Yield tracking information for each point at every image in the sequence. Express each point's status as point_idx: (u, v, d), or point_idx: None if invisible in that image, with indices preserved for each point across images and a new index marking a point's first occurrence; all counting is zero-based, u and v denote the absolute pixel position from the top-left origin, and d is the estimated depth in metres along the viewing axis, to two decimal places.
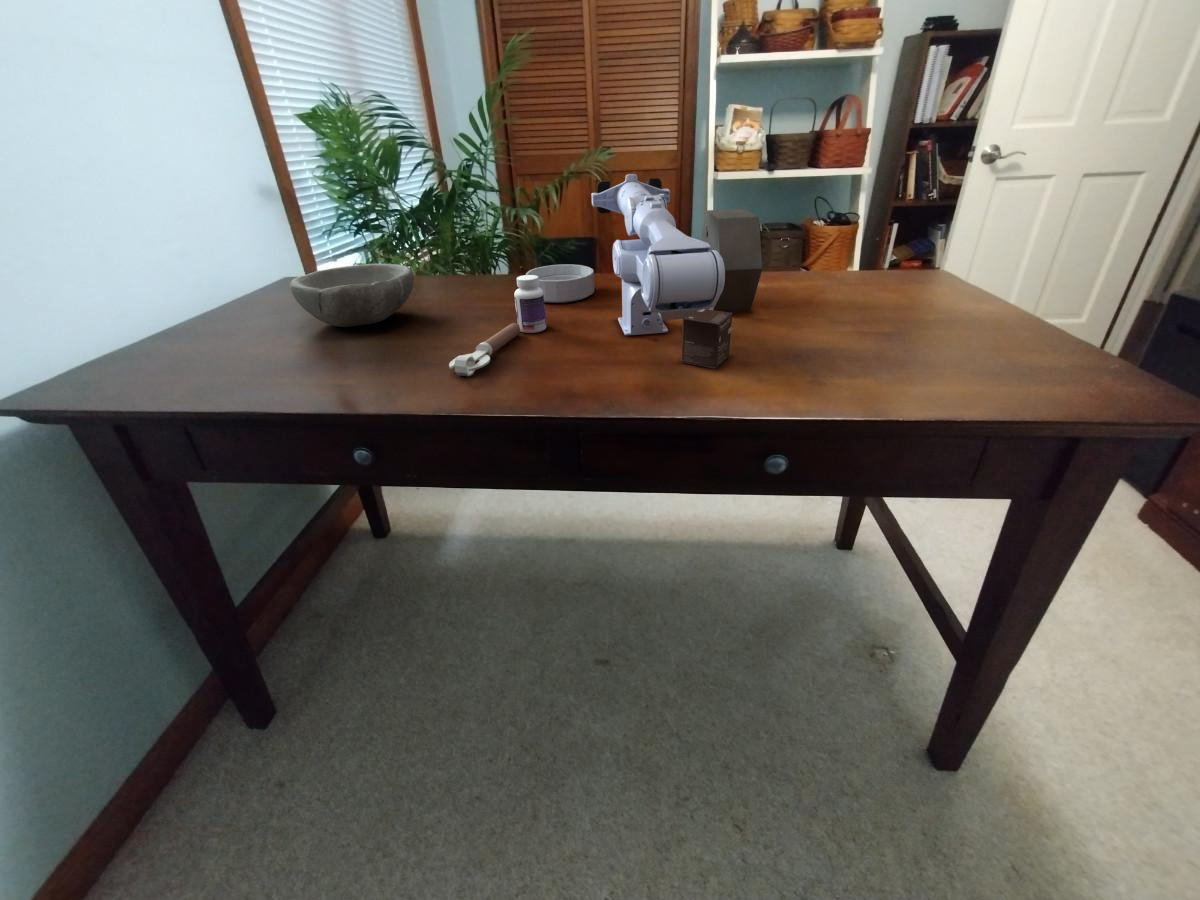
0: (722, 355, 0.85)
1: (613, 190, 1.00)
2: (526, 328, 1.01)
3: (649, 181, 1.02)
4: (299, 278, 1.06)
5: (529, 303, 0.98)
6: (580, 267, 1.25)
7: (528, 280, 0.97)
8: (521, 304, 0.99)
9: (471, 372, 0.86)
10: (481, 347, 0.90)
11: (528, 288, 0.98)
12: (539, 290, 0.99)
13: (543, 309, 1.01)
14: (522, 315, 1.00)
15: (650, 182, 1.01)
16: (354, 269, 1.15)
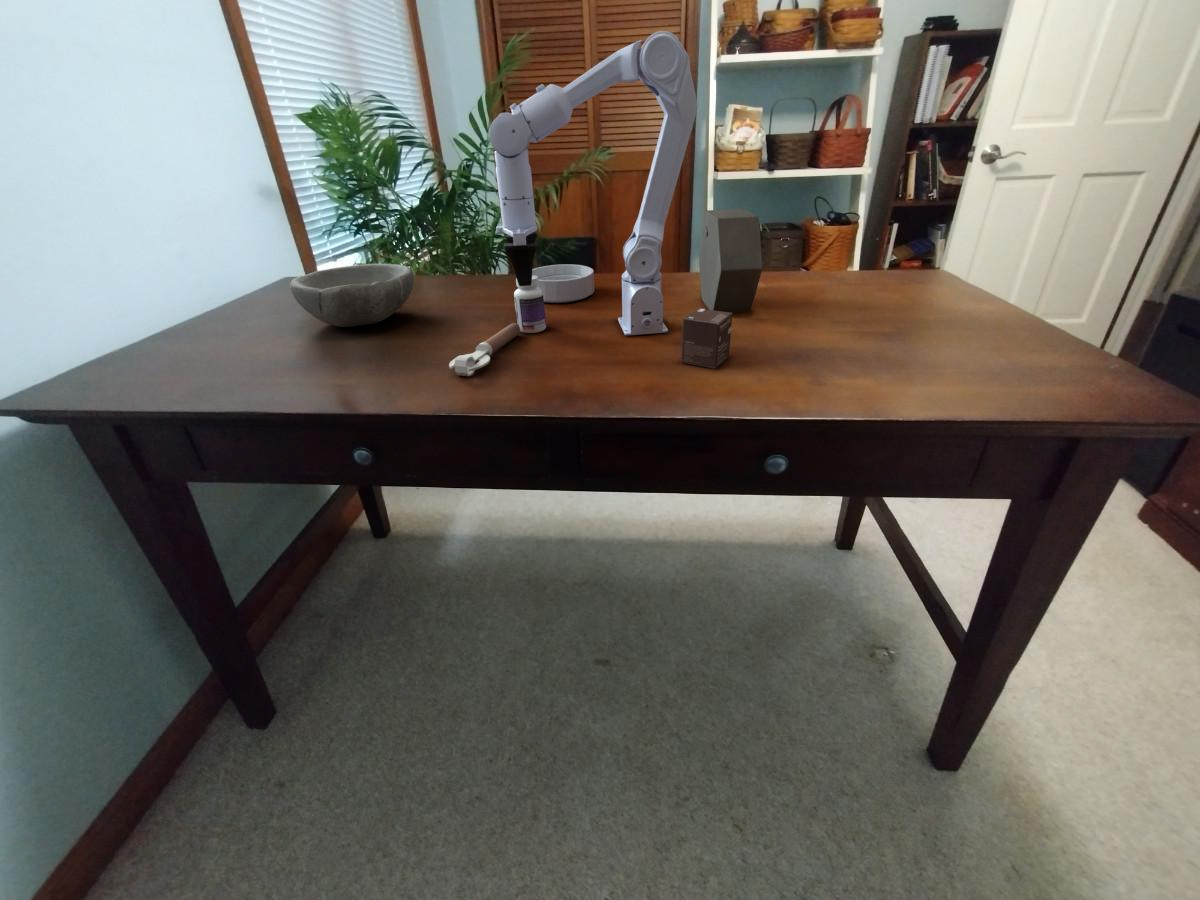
0: (722, 355, 0.85)
1: None
2: (526, 329, 1.01)
3: (508, 238, 0.98)
4: (299, 278, 1.06)
5: (528, 303, 0.98)
6: (580, 267, 1.25)
7: None
8: (521, 304, 0.99)
9: (471, 372, 0.86)
10: (481, 347, 0.90)
11: (528, 288, 0.98)
12: (539, 290, 0.99)
13: (543, 309, 1.01)
14: (522, 316, 1.00)
15: (509, 236, 0.98)
16: (354, 269, 1.15)
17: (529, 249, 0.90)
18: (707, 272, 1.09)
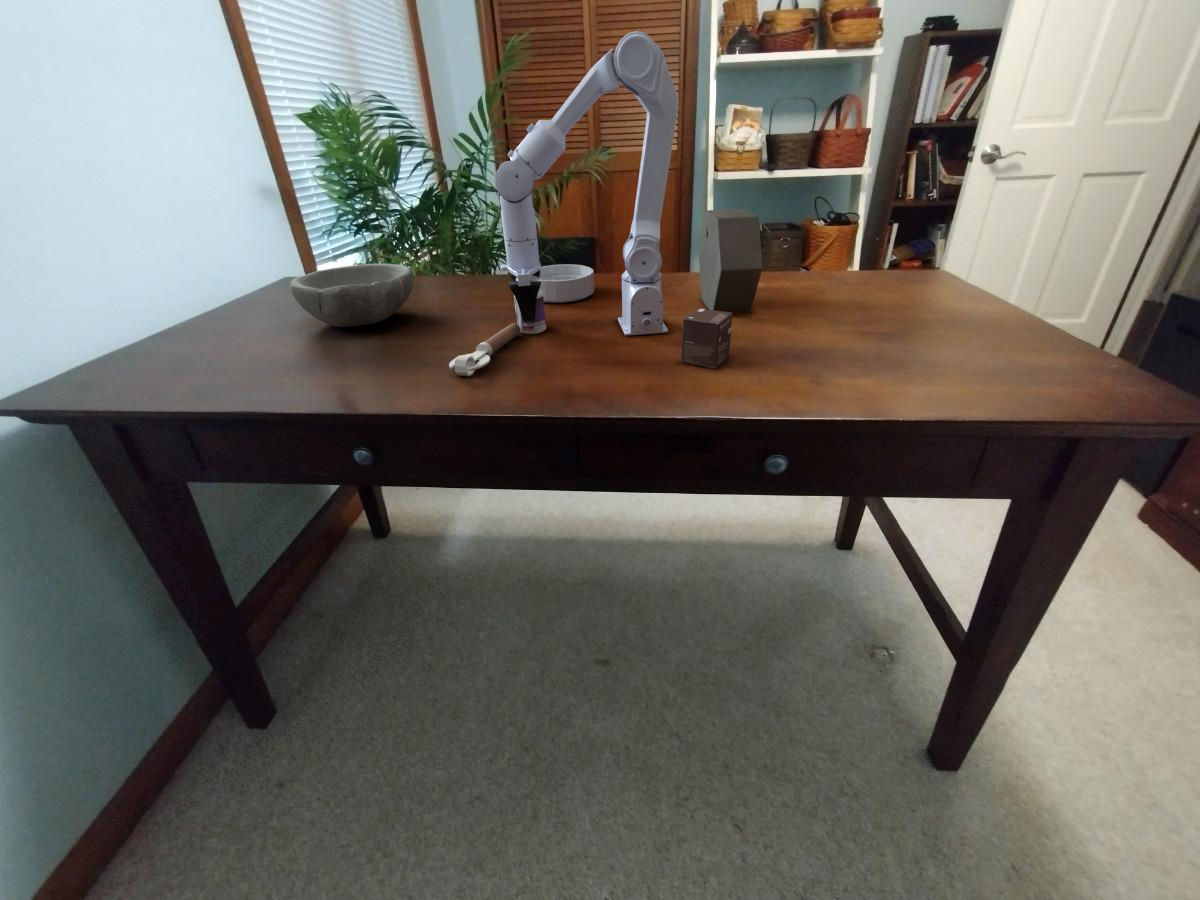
0: (722, 355, 0.85)
1: None
2: (526, 329, 1.00)
3: (512, 276, 1.00)
4: (299, 278, 1.06)
5: None
6: (580, 267, 1.25)
7: None
8: None
9: (471, 372, 0.86)
10: (481, 347, 0.90)
11: None
12: (539, 291, 0.99)
13: (543, 310, 1.00)
14: (521, 316, 0.99)
15: (513, 274, 1.00)
16: (354, 269, 1.15)
17: (533, 287, 0.94)
18: (707, 272, 1.09)
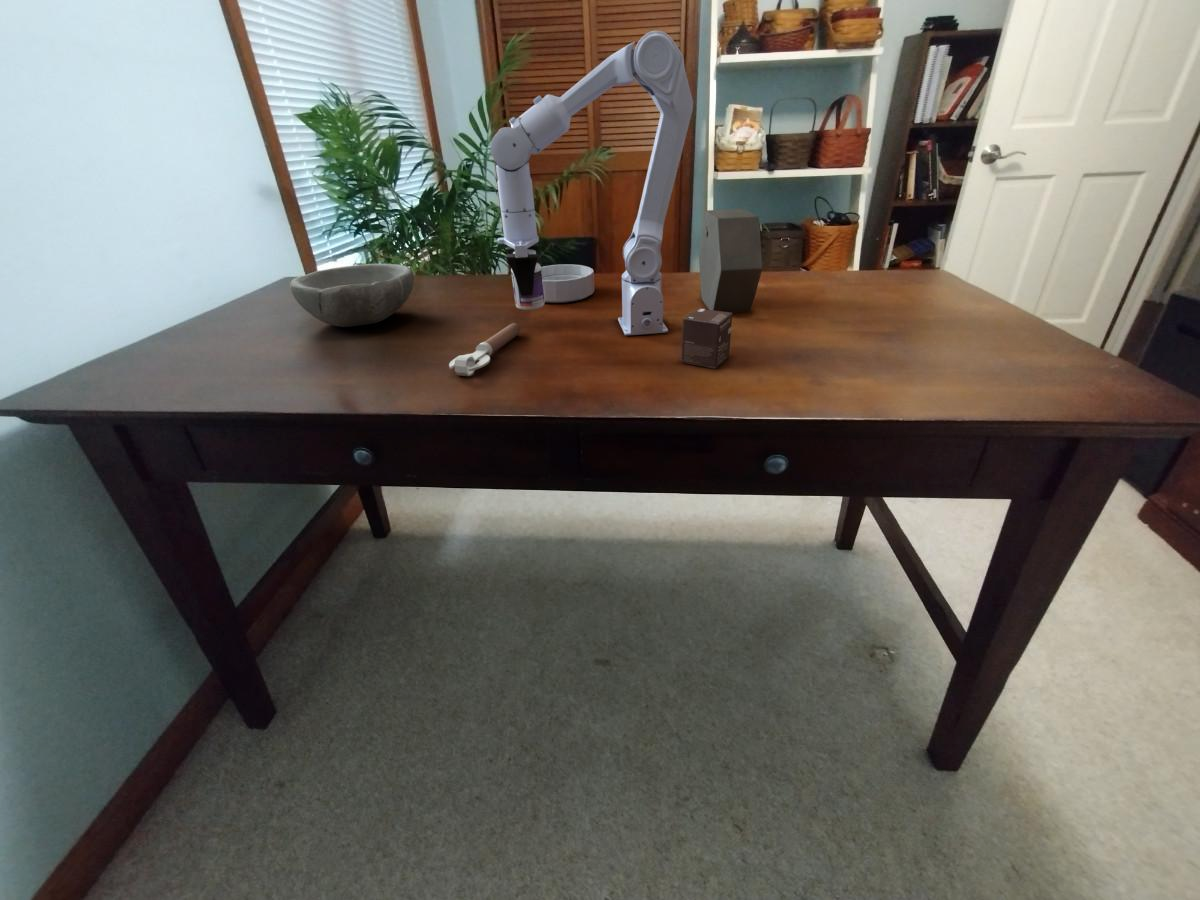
0: (722, 355, 0.85)
1: None
2: (524, 305, 0.98)
3: (510, 250, 0.98)
4: (299, 278, 1.06)
5: None
6: (580, 267, 1.25)
7: None
8: None
9: (471, 372, 0.86)
10: (481, 347, 0.90)
11: None
12: (536, 265, 0.96)
13: (541, 285, 0.98)
14: None
15: (510, 248, 0.98)
16: (354, 269, 1.15)
17: (530, 260, 0.92)
18: (707, 272, 1.09)
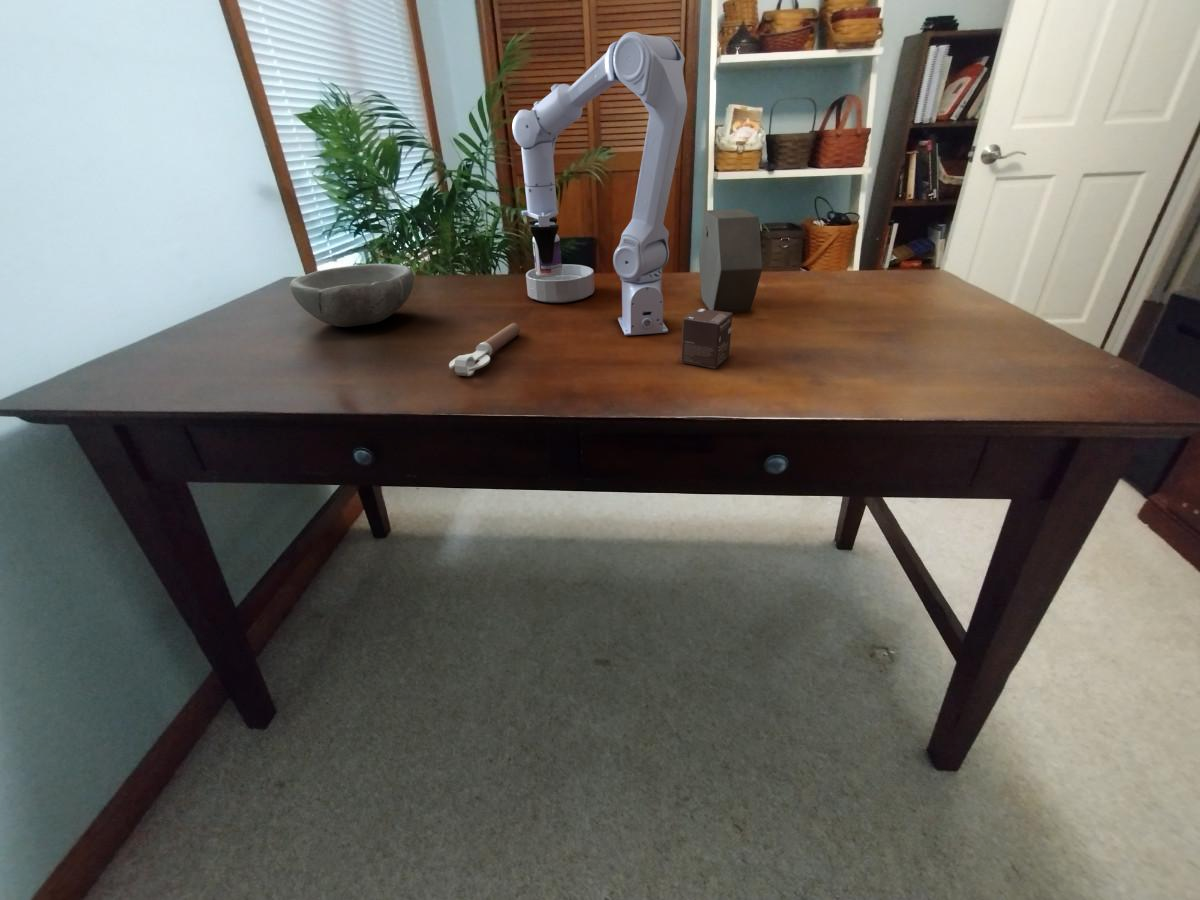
0: (722, 355, 0.85)
1: None
2: (544, 272, 1.09)
3: (531, 222, 1.09)
4: (299, 278, 1.06)
5: None
6: (580, 267, 1.25)
7: None
8: None
9: (471, 372, 0.86)
10: (481, 347, 0.90)
11: None
12: (556, 235, 1.07)
13: (559, 254, 1.08)
14: (540, 259, 1.08)
15: (532, 221, 1.09)
16: (354, 269, 1.15)
17: (552, 229, 1.02)
18: (707, 272, 1.09)
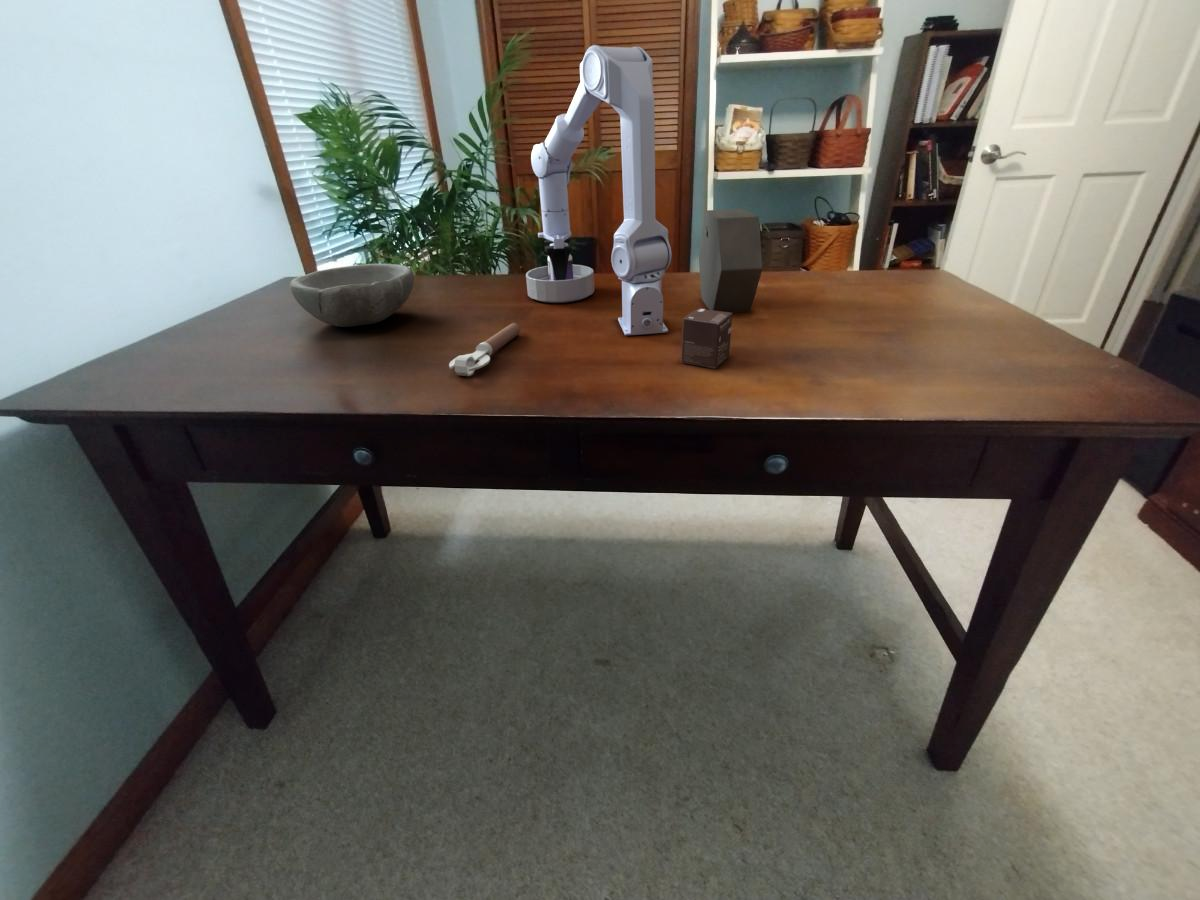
0: (722, 355, 0.85)
1: None
2: None
3: (546, 243, 1.19)
4: (299, 278, 1.06)
5: None
6: (580, 267, 1.25)
7: None
8: None
9: (471, 372, 0.86)
10: (481, 347, 0.90)
11: None
12: (569, 255, 1.17)
13: (572, 271, 1.19)
14: (554, 277, 1.18)
15: (547, 241, 1.19)
16: (354, 269, 1.15)
17: (565, 250, 1.13)
18: (707, 272, 1.09)
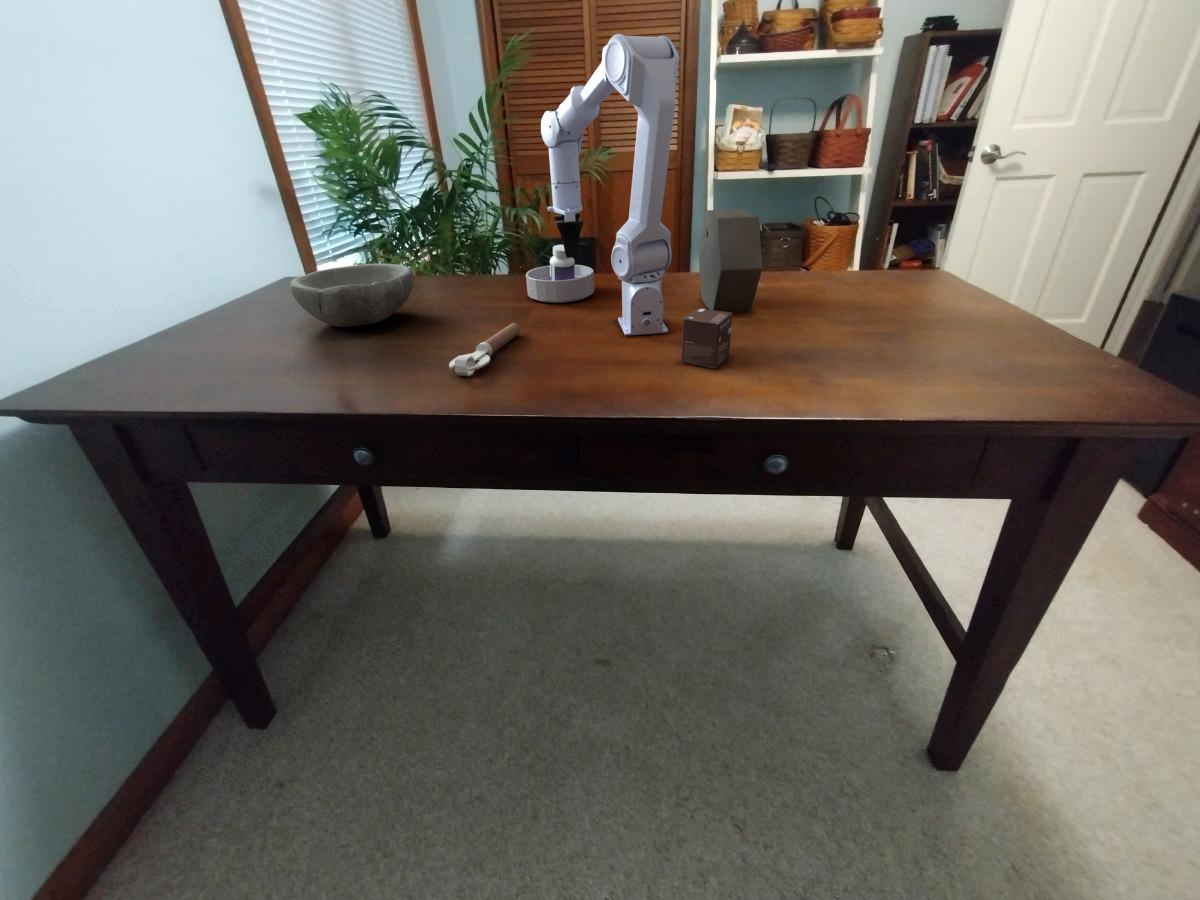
0: (722, 355, 0.85)
1: None
2: None
3: (556, 217, 1.15)
4: (299, 278, 1.06)
5: (562, 270, 1.16)
6: (580, 267, 1.25)
7: (563, 251, 1.14)
8: (556, 271, 1.16)
9: (471, 372, 0.86)
10: (481, 347, 0.90)
11: (563, 257, 1.15)
12: (571, 259, 1.17)
13: (573, 275, 1.19)
14: (555, 280, 1.18)
15: (556, 216, 1.15)
16: (354, 269, 1.15)
17: (577, 225, 1.07)
18: (707, 272, 1.09)
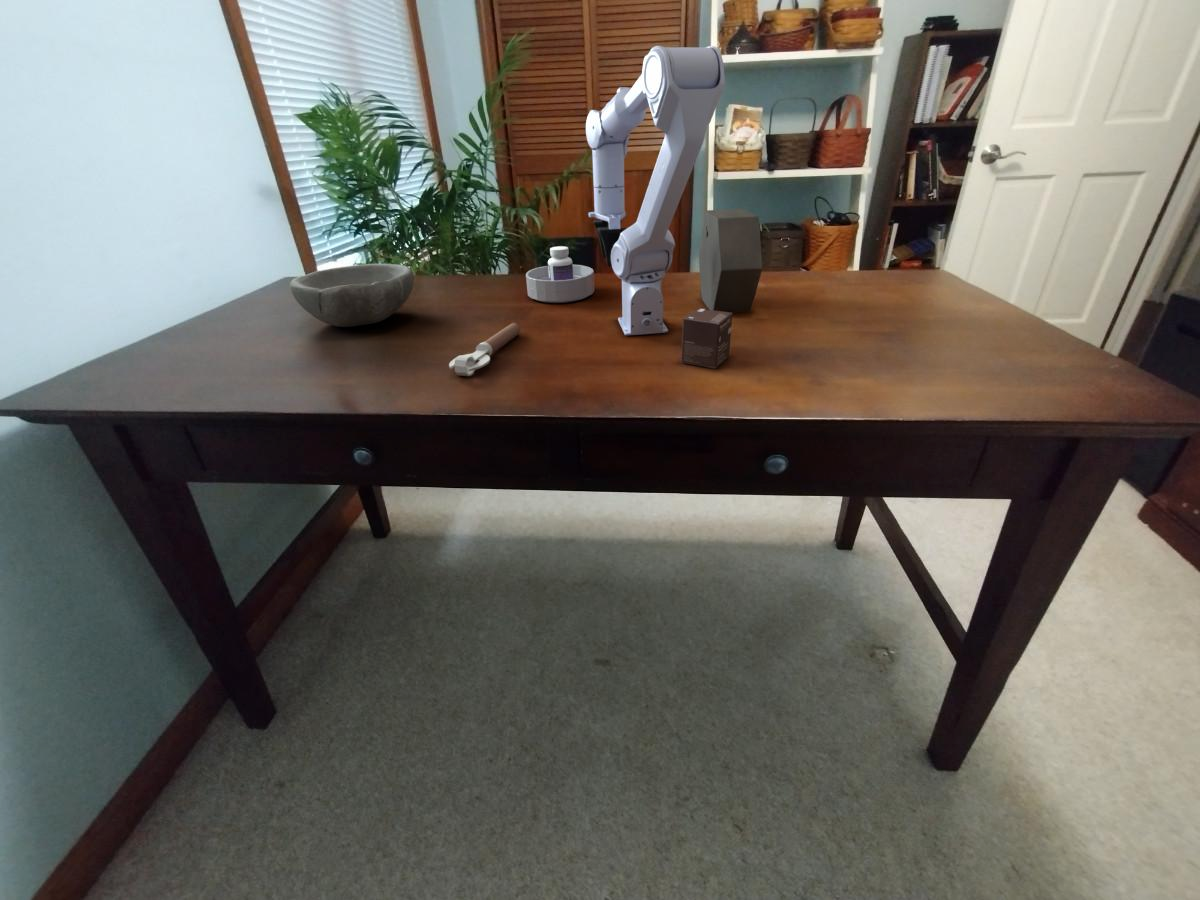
0: (722, 355, 0.85)
1: None
2: None
3: (596, 223, 1.08)
4: (299, 278, 1.06)
5: (561, 270, 1.17)
6: (580, 267, 1.25)
7: (560, 250, 1.15)
8: (554, 271, 1.17)
9: (471, 372, 0.86)
10: (481, 347, 0.90)
11: (560, 256, 1.16)
12: (569, 259, 1.17)
13: (572, 275, 1.19)
14: None
15: (596, 222, 1.08)
16: (354, 269, 1.15)
17: (621, 233, 1.00)
18: (707, 272, 1.09)
